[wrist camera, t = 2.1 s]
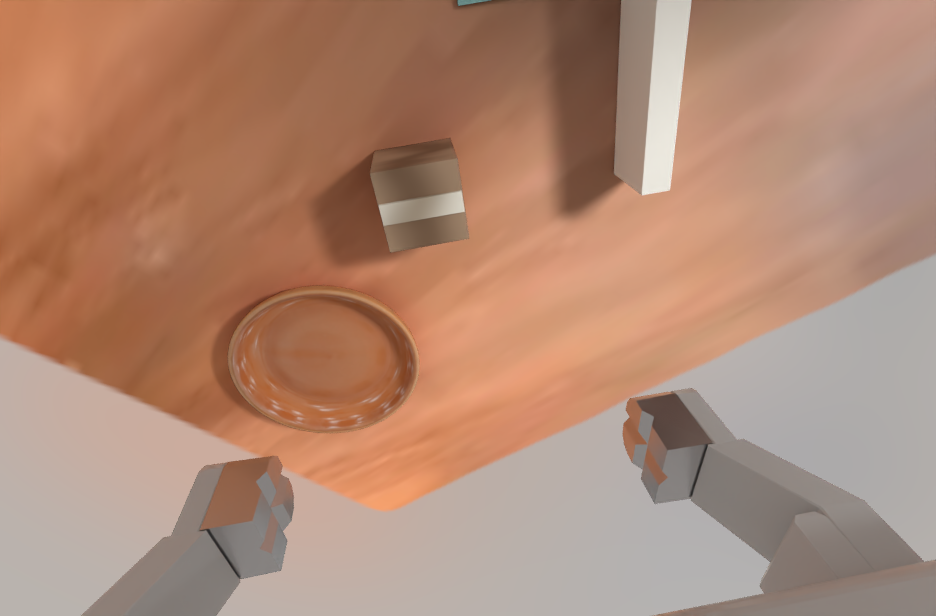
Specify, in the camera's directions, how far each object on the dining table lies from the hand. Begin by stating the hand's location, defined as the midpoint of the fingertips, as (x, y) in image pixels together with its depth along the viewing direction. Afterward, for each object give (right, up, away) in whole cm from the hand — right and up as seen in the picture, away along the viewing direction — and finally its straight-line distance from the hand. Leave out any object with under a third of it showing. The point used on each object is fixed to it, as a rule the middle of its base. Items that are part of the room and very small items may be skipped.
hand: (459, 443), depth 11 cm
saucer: (-12, -1, +31) cm, 34 cm away
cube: (-3, +13, +24) cm, 27 cm away
